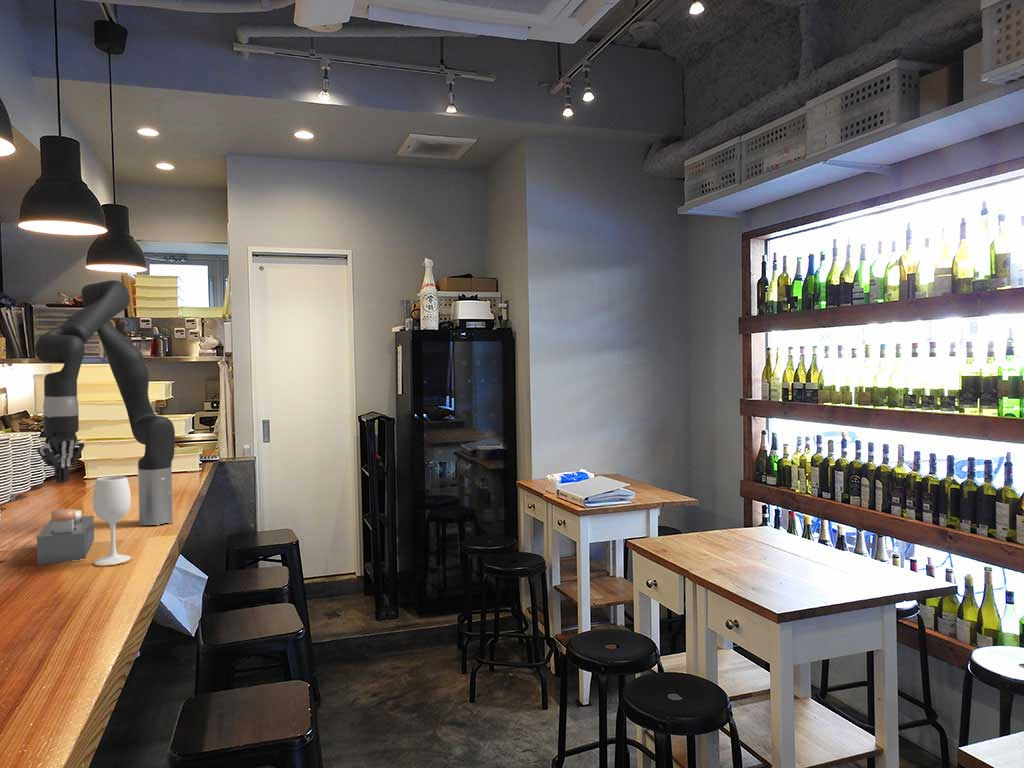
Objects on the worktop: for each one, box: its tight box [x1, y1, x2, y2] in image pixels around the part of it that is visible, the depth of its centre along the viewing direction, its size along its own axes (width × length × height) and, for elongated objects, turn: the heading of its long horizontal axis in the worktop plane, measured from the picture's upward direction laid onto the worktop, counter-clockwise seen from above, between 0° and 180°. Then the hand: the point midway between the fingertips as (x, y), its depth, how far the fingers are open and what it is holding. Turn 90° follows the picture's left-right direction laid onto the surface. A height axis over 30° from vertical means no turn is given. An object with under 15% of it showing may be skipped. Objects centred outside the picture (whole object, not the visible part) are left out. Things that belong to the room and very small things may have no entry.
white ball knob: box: [74, 509, 83, 522], centre depth 189 cm, size 5×5×7 cm
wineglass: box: [92, 475, 132, 565], centre depth 175 cm, size 9×9×21 cm
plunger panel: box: [36, 515, 95, 566], centre depth 184 cm, size 10×22×7 cm, turn 26°
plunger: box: [50, 508, 76, 534], centre depth 178 cm, size 5×5×7 cm
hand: (62, 482), depth 178 cm, fingers closed
